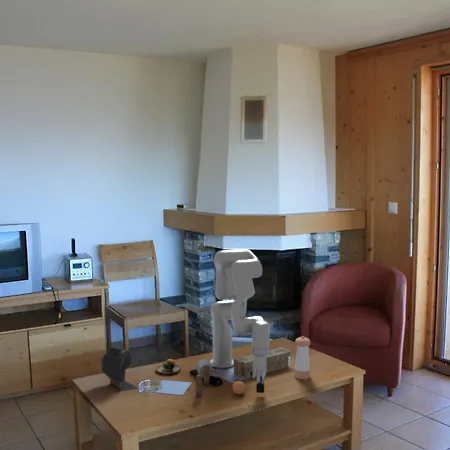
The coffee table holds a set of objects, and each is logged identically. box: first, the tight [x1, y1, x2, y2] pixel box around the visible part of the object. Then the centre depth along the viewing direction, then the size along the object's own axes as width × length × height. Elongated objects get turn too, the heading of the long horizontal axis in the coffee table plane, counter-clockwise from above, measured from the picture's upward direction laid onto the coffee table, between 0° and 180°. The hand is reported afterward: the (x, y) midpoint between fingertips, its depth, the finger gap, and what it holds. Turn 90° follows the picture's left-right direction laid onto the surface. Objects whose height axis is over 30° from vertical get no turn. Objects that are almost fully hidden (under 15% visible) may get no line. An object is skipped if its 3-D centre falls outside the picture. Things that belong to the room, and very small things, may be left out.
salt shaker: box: [293, 335, 311, 380], centre depth 260 cm, size 7×7×19 cm
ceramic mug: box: [195, 358, 220, 379], centre depth 261 cm, size 10×8×7 cm
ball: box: [232, 380, 246, 395], centre depth 241 cm, size 6×6×6 cm
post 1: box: [195, 374, 203, 398], centre depth 238 cm, size 3×3×9 cm
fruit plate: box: [155, 358, 182, 376], centre depth 268 cm, size 12×12×8 cm
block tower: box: [232, 347, 292, 379], centre depth 269 cm, size 8×8×29 cm
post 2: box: [203, 365, 210, 387], centre depth 251 cm, size 3×3×9 cm
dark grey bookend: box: [100, 346, 139, 392], centre depth 250 cm, size 14×15×18 cm
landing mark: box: [153, 379, 192, 396], centre depth 248 cm, size 14×14×1 cm
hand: (260, 392), depth 239 cm, fingers closed
